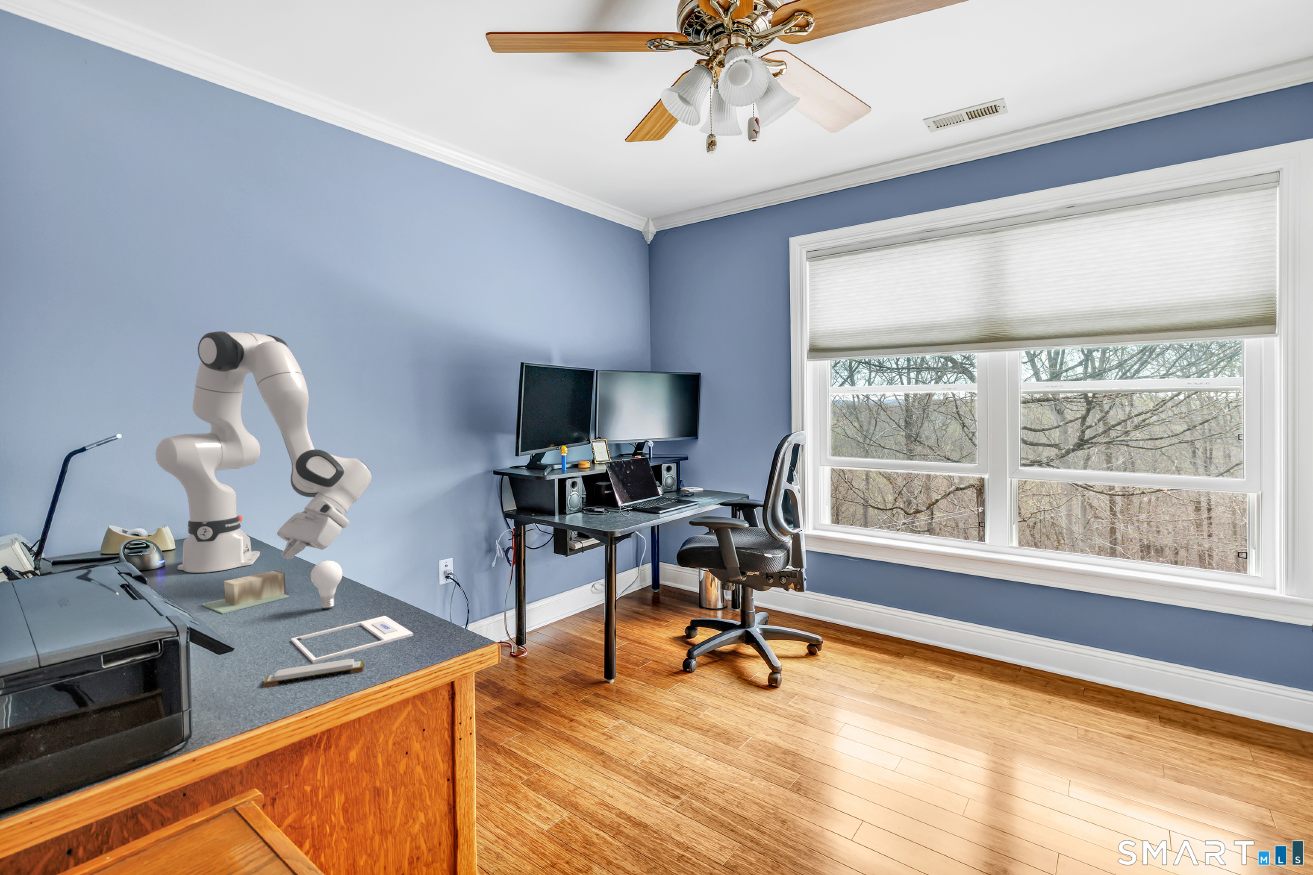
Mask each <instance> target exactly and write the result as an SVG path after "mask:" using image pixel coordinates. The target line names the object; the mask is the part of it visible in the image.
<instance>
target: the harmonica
mask: <svg viewBox="0 0 1313 875" xmlns="http://www.w3.org/2000/svg"><path fill="white" fill-rule="evenodd" d="M364 664H365V663H364V660H358V661H355V659H354V658H349V659H348V658H347V659H342V660H341V659H340V660H335V661H328V662H321V663H313V664H308V665H303V666H294V667H289V668H288V667H287V668H283V669H279V670H276V671H275V673H274V674H270V675H266V677H265V680H264V682H263V688H266V687H267V688H268V687H275V686H281V684H282V683H283V682H285V683H284V684H285V685H287V684H289V682H290V681H291V682H292V683H296V681H297V680H299V682H303V679H305V678H306V681H310V679H311V678H313V680H317V677H319V676H320V679H324V677H325V675H327V678H329V677H331V674H334V677H336V676H338V673H341V674H340V675H341V676H342V675H344V673H345V672H347V674H349V675H351V674H356V673H363V671H364V666H365V665H364Z"/></svg>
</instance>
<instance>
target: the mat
mask: <svg viewBox="0 0 1313 875" xmlns="http://www.w3.org/2000/svg"><path fill="white" fill-rule="evenodd" d="M287 598H290V595H287V594H286V593H285V594H281V595H277V596H272V597H268V598H264V599H260V600H256V601H252V602H248V603H244V604H240V605H236V606H234V605H231V604H229V603H226V602H225V598H222V599H218V600H214V601H208V602H205V603H202V604H201V606H203V607H205V608H207V609H209V610H212V611H215V612H217V613H219V614H227V613H231V612H235V611H236V612H237V611H240V610H243V609H247V608H252V607H256V606H260V605H263V604H267V603H271V602H276V601H279V600H283V599H287Z"/></svg>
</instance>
